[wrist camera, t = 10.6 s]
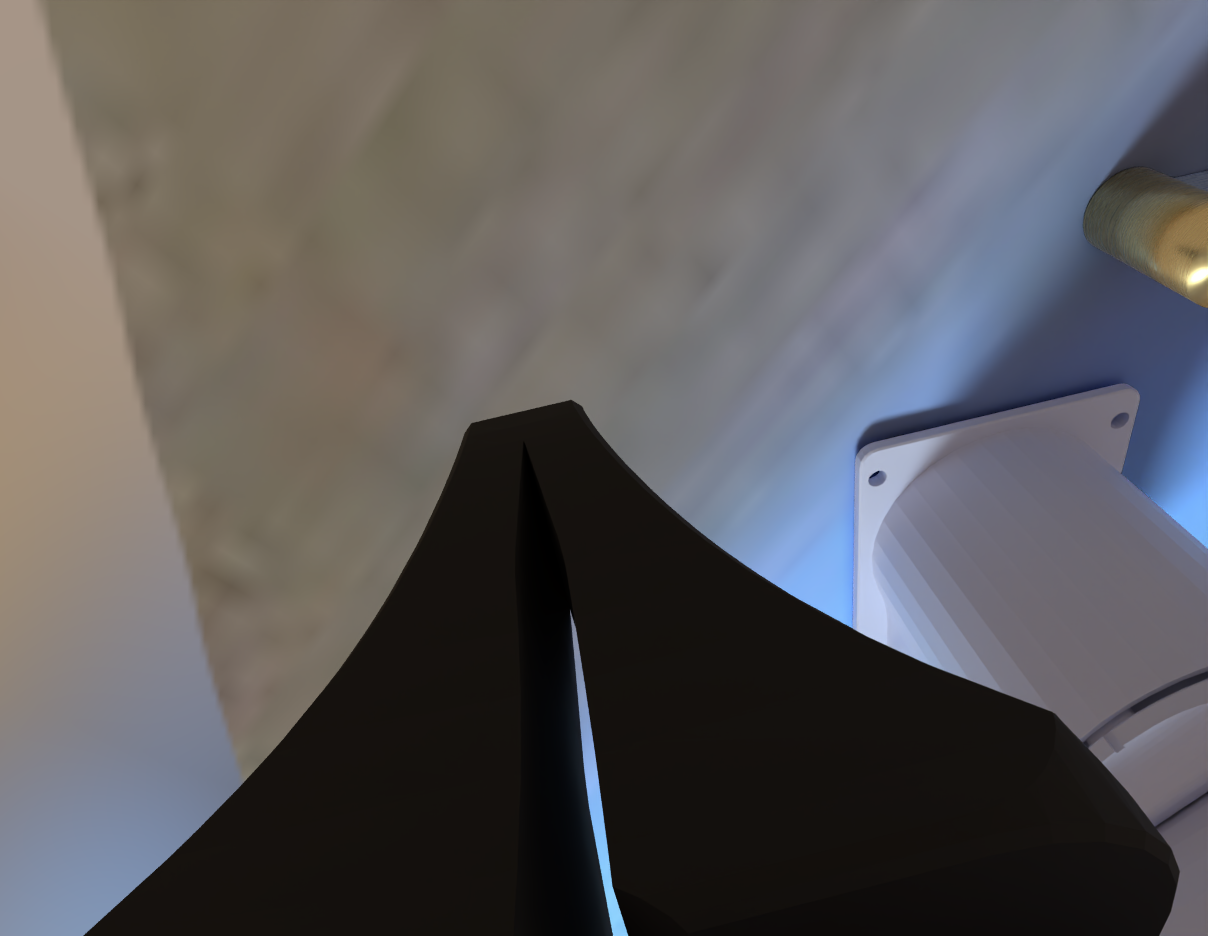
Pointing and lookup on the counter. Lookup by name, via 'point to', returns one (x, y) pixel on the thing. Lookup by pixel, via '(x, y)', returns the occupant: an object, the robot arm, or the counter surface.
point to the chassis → (1155, 227)
